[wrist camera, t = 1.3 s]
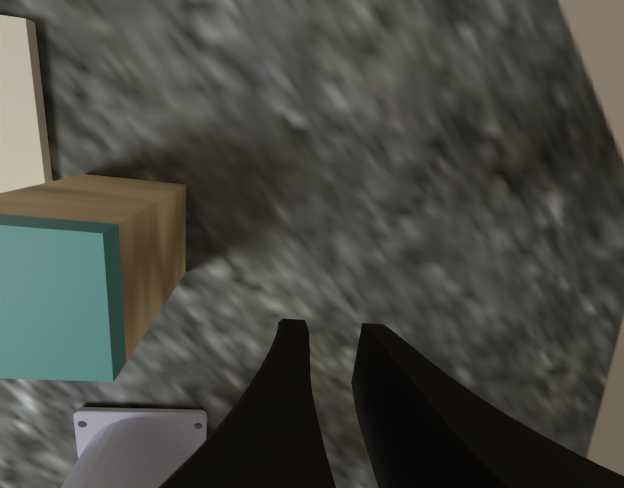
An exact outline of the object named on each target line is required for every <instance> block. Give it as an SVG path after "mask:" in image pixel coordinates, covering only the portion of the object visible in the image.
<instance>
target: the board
mask: <svg viewBox="0 0 624 488" xmlns="http://www.w3.org/2000/svg"><path fill="white" fill-rule="evenodd" d="M52 181H53V180H52V171H51V162H50V153H49V144H48V135H47V126H46V117H45V108H44V99H43V90H42V82H41V73H40V64H39V55H38V46H37V37H36V28H35V23H34V22H32V21H30V20H28V19H25V18H18V17H12V16H5V15H0V193H3V192H8V191H12V190H17V189H21V188H25V187H30V186H34V185H39V184H43V183H47V182H52Z"/></svg>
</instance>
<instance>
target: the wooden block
mask: <svg viewBox="0 0 624 488" xmlns="http://www.w3.org/2000/svg"><path fill="white" fill-rule="evenodd" d="M185 272H186V184H177V183H167V182H157V181H147V180H138V179H128V178H118V177H108V176H98V175H88V174H82V175H78V176H74V177H69V178H65V179H60V180H56V181H52V182H47V183H43V184H39V185H34V186H30V187H25V188H21V189H17V190H12V191H8V192H3V193H0V378H9V379H40V380H71V381H101V382H114V380H115V379H116V377H117V376H118V374H119V372H120V371H121V369H122V368H123V366H124V365H125V363H126V362H127V360H128V359H129V357H130V356H131V354H132V353H133V351H134V350H135V348H136V347H137V345H138V344H139V342H140V341H141V339H142V338H143V336H144V334H145V333H146V331H147V330H148V328H149V327H150V325H151V324H152V322H153V321H154V319H155V318H156V316H157V315H158V313H159V312H160V310H161V309H162V307H163V306H164V304H165V303H166V301H167V300H168V298H169V296H170V295H171V293H172V292H173V290H174V289H175V287H176V286H177V284H178V283H179V281H180V280H181V278H182V277H183V275H184V274H185Z"/></svg>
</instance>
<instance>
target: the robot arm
mask: <svg viewBox="0 0 624 488" xmlns="http://www.w3.org/2000/svg"><path fill="white" fill-rule="evenodd" d="M351 384H352V390H353V396H354V402H355V407H356V413H357V418H358V421H359V425H360V428H361V431H362V435H363V438H364V441H365V445H366V448H367V451H368V454H369V458H370V461H371V464H372V467H373V471H374V474H375V477H376V480H377V484H378V487H379V488H624V476H622V475H620V474H617V473H615V472H613V471H611V470H609V469H607V468H604V467H602V466H600V465H598V464H596V463H594V462H592V461H590V460H588V459H586V458H584V457H582V456H580V455H578V454H576V453H574V452H572V451H570V450H569V449H567V448H565V447H563V446H561V445H559V444H557V443H556V442H554V441H552V440H550V439H548V438H546V437H544V436H543V435H541V434H539V433H537V432H535V431H533V430H532V429H530V428H528V427H526V426H525V425H523V424H521V423H520V422H518V421H516V420H515V419H513V418H511V417H510V416H508V415H506V414H505V413H503V412H502V411H500V410H498V409H497V408H495V407H494V406H492V405H490V404H489V403H487V402H486V401H484V400H483V399H481V398H480V397H478V396H477V395H475V394H474V393H472V392H471V391H470V390H468V389H467V388H465V387H464V386H462V385H461V384H460V383H458V382H457V381H455V380H454V379H453V378H451V377H450V376H449V375H447V374H446V373H445V372H443V371H442V370H441V369H439V368H438V367H437V366H435V365H434V364H433V363H432V362H430V361H429V360H428V359H427V358H425V357H424V356H423V355H422V354H420V353H419V352H418V351H417V350H415V349H414V348H413V347H412V346H410V345H409V344H408V343H407V342H406V341H404V340H403V339H402V338H401V337H399V336H398V335H397V334H396V333H394V332H393V331H392V330H390V329H389V328H388V327H386V326H385V325H383V324H367V323H362V328H361V334H360V339H359V344H358V350H357V355H356V360H355V366H354V371H353V377H352V382H351ZM73 418H74V426H75V435H76V443H77V451H78V461H77V462H76V464H75V465H74V467H73V469H72V470H71V472H70V474H69V475H68V477H67V479H66V480H65V482H64V484H63V485H62V487H61V488H336V486H335V483H334V480H333V476H332V473H331V469H330V466H329V462H328V459H327V455H326V452H325V448H324V444H323V440H322V435H321V431H320V427H319V423H318V419H317V414H316V410H315V405H314V400H313V395H312V389H311V380H310V347H309V330H308V327H307V324H306V322H305V320H295V319H282V320H281V321H279V322H278V330H277V334H276V337H275V339H274V342H273V344H272V346H271V348H270V350H269V352H268V354H267V356H266V358H265V360H264V362H263V364H262V366H261V367H260V369H259V371H258V372H257V374H256V376H255V377H254V379H253V380H252V382H251V384H250V385H249V387H248V388H247V390H246V391H245V393H244V394H243V395H242V397H241V398H240V400H239V401H238V402H237V404H236V405H235V406H234V407H233V409H232V410H231V411H230V413H229V414H228V415H227V416H226V418H225V419H224V420H223V421H222V422H221V423H220V425H219V426H218V427H217V428H216V429H215V430H214V432H213V433H212V434H211V435H210V436H209V437H208V438H207V413H206V412H205V411H203V410H190V409H146V408H102V407H81V408H79V409H78V410H77V411H76V412H75V414H74V417H73ZM83 421H85V422H83ZM197 423H200V424H197Z"/></svg>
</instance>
